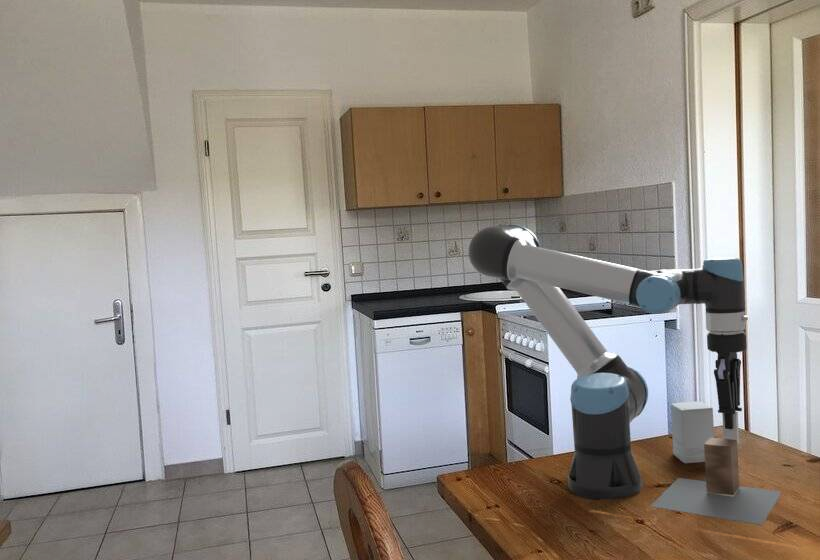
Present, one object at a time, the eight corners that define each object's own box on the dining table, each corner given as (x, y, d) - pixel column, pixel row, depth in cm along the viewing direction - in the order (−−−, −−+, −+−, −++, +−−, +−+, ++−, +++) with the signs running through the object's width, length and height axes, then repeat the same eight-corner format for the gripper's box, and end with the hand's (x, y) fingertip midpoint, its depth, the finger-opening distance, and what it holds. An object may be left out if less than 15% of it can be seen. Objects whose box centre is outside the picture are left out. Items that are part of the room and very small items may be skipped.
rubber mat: (650, 508, 140) (650, 506, 140) (678, 479, 154) (678, 477, 154) (762, 527, 128) (762, 524, 128) (782, 493, 142) (781, 491, 142)
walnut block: (706, 492, 144) (704, 444, 144) (713, 485, 148) (710, 437, 148) (733, 496, 141) (730, 446, 141) (739, 488, 145) (736, 440, 145)
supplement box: (716, 462, 163) (713, 407, 162) (683, 465, 163) (680, 410, 162) (703, 453, 170) (701, 400, 169) (672, 455, 170) (669, 402, 170)
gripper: (738, 336, 143) (743, 453, 144) (752, 327, 153) (757, 436, 154) (698, 336, 147) (704, 449, 148) (715, 326, 157) (720, 432, 159)
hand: (731, 442), depth 151 cm, fingers closed
